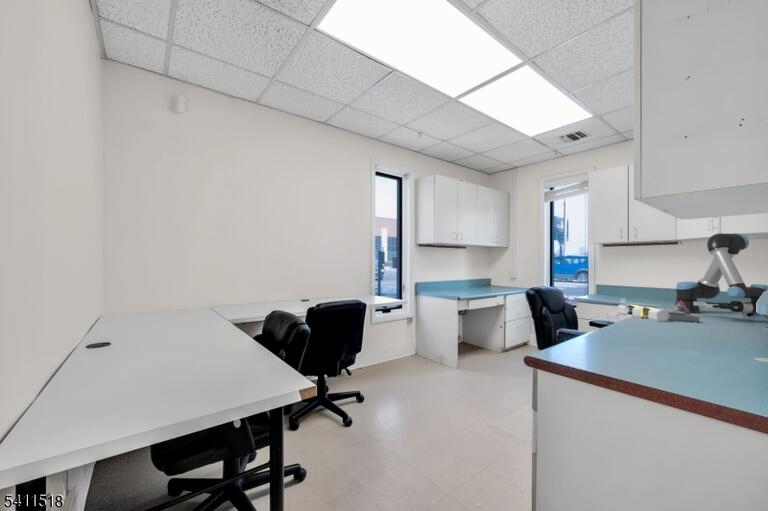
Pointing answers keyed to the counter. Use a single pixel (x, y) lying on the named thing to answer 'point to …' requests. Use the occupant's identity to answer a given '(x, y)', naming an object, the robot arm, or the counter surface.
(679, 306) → the brake caliper
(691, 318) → the parts bin
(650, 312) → the segmented white rod
